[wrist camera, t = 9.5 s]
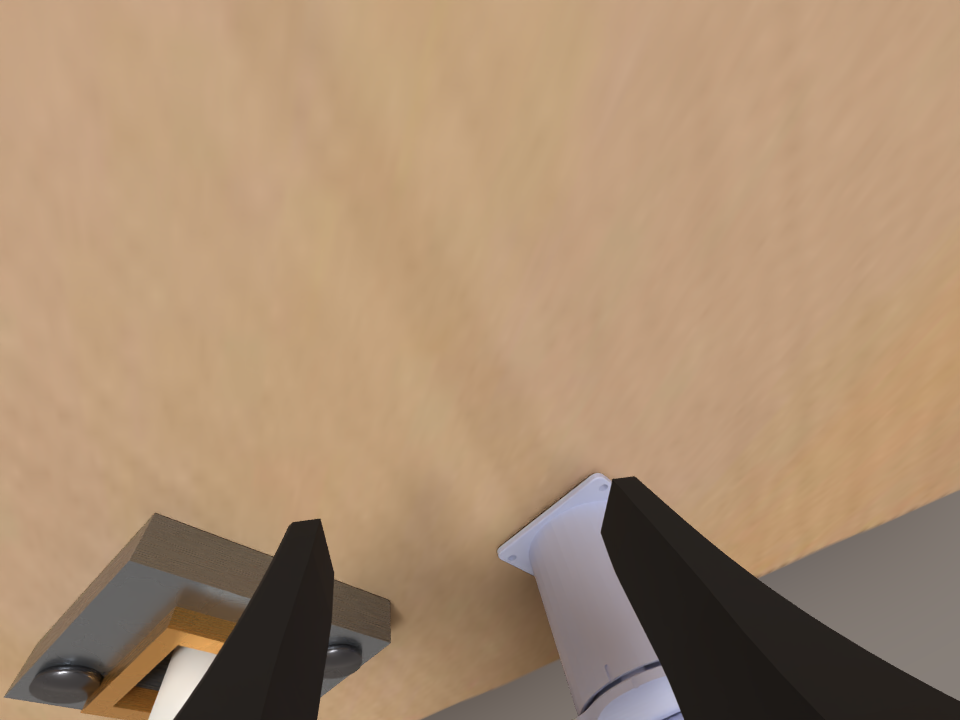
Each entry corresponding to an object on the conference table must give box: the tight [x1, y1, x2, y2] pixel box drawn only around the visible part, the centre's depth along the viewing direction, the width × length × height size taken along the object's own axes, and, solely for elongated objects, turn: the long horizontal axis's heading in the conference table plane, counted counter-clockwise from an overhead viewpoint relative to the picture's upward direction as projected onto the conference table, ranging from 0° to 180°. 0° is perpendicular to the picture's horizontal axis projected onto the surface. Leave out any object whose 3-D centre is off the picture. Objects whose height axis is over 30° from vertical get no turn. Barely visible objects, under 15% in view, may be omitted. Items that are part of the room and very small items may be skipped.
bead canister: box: [148, 645, 217, 720], centre depth 23 cm, size 4×4×7 cm
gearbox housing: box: [4, 513, 391, 720], centre depth 24 cm, size 14×12×4 cm
